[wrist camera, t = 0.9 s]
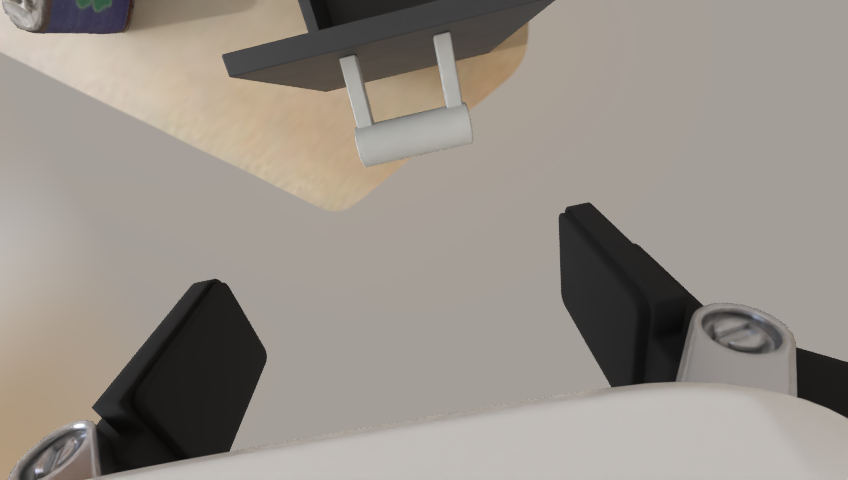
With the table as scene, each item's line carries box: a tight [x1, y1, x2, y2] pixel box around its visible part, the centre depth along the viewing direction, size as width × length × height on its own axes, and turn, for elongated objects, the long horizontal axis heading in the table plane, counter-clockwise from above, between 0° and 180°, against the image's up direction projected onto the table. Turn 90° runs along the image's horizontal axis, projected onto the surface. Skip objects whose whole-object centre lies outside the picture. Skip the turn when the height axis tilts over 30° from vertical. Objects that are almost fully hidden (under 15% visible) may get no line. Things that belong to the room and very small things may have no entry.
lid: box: [222, 0, 555, 167], centre depth 22 cm, size 15×13×5 cm
